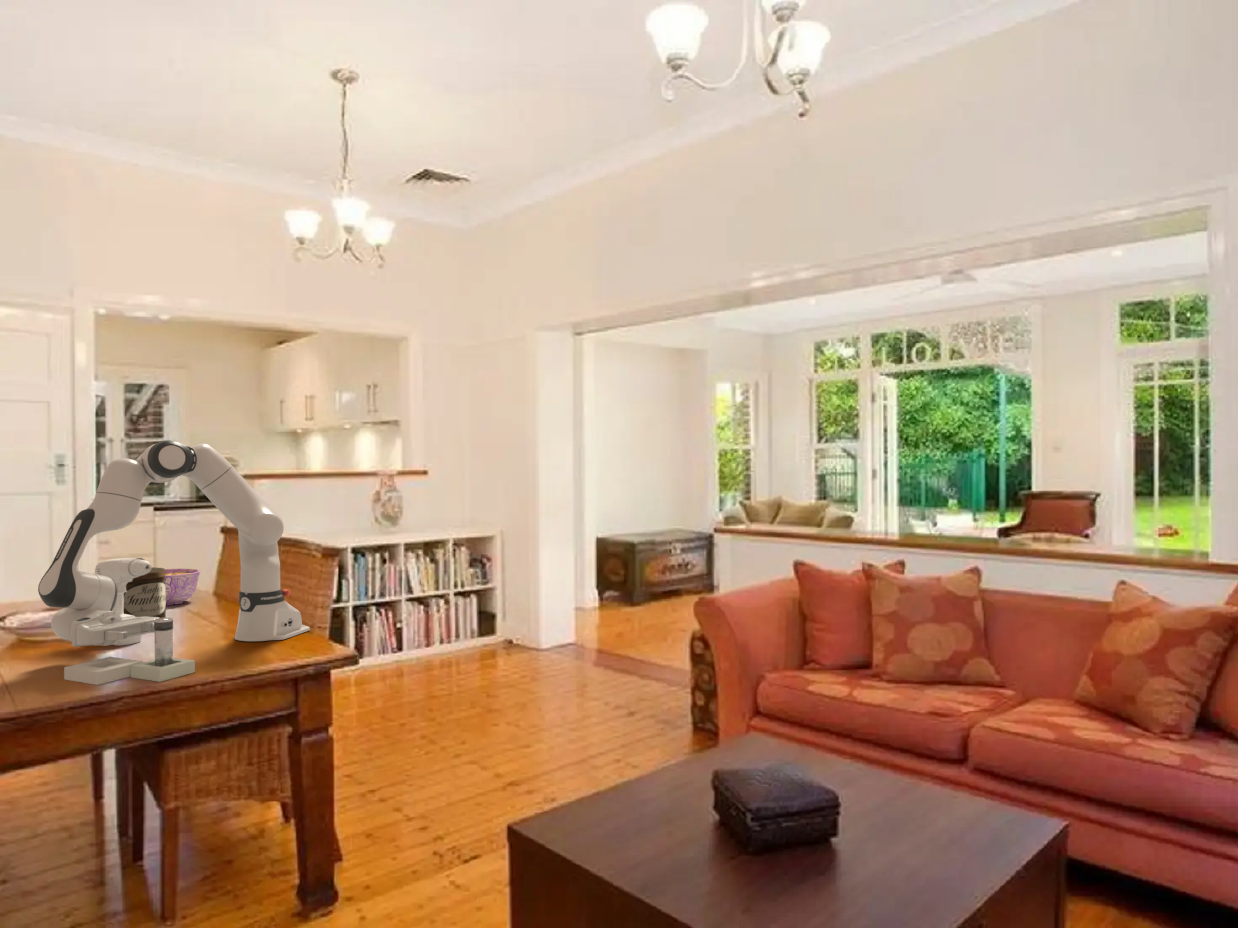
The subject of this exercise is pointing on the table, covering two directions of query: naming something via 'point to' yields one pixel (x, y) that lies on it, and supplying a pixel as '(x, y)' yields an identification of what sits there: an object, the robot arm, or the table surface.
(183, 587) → the bowl of food
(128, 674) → the socket block
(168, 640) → the clear capped tube
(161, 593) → the brown cylinder
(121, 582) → the power drill
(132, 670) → the block
